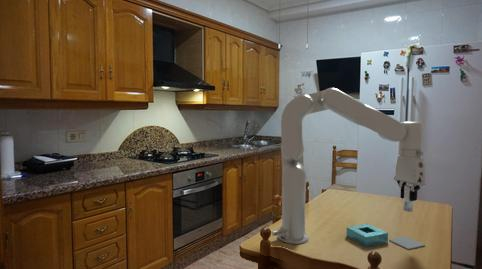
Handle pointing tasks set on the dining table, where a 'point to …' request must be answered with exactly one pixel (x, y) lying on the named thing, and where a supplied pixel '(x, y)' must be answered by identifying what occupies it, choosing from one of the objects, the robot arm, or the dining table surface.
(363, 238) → the teal socket block
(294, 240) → the robot arm
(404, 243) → the grey rubber mat
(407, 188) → the steel key rod
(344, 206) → the dining table surface
